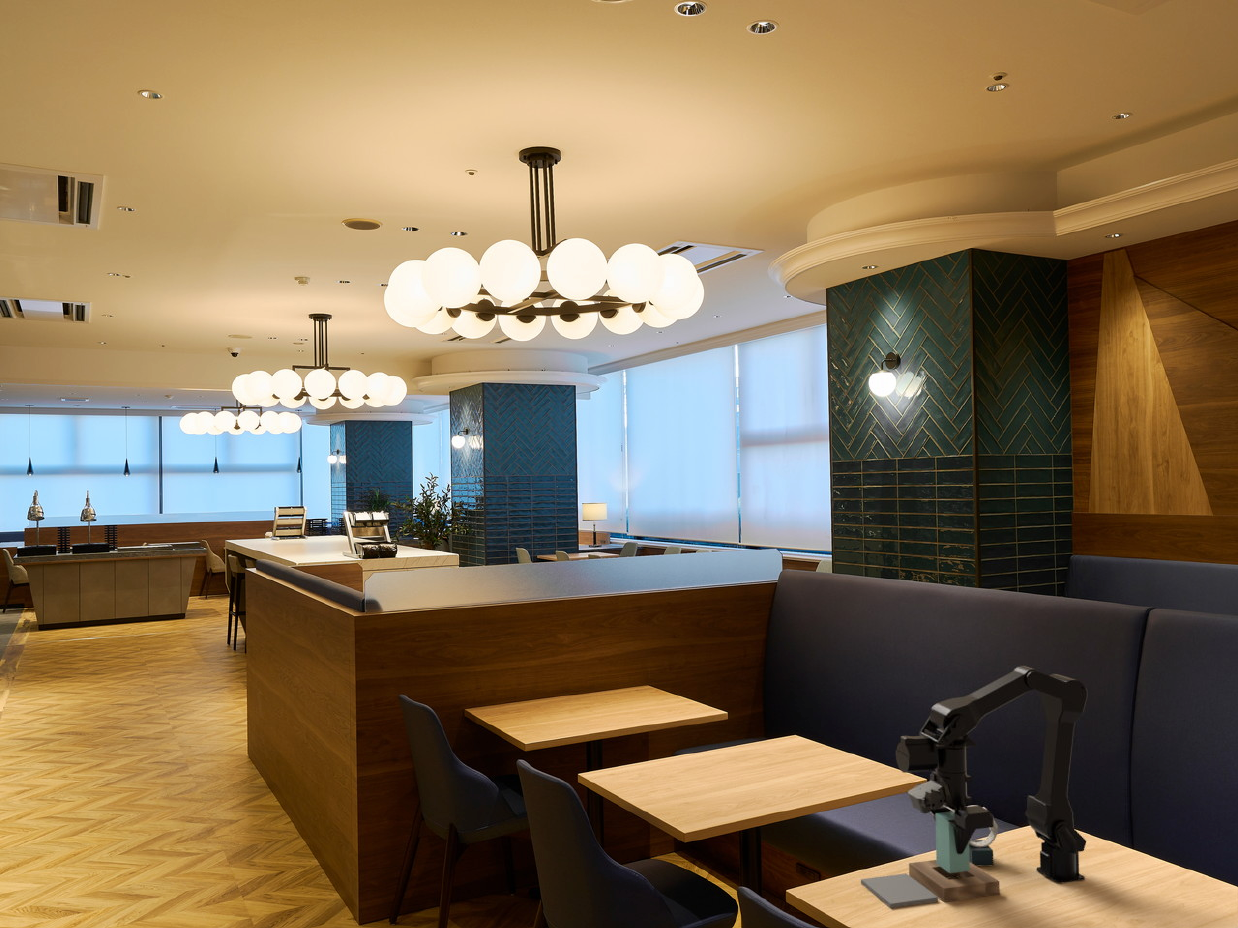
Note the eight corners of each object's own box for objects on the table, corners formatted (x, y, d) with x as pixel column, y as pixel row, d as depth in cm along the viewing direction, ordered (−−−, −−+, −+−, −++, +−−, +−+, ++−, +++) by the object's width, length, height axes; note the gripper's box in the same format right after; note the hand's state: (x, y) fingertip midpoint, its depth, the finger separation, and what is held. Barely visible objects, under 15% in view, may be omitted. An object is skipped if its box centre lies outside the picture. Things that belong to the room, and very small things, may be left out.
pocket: (961, 868, 187) (961, 856, 187) (999, 894, 176) (999, 880, 176) (909, 875, 184) (909, 863, 185) (944, 901, 173) (944, 888, 173)
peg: (956, 861, 183) (955, 810, 183) (969, 870, 179) (968, 818, 179) (936, 863, 182) (935, 813, 182) (949, 872, 178) (948, 820, 178)
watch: (1003, 865, 189) (1001, 811, 189) (963, 865, 189) (962, 811, 189) (992, 854, 194) (991, 802, 195) (954, 854, 195) (953, 802, 195)
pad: (906, 877, 184) (906, 873, 184) (938, 901, 173) (937, 896, 173) (860, 883, 181) (860, 879, 181) (890, 907, 171) (890, 903, 171)
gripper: (889, 758, 188) (890, 835, 187) (942, 787, 170) (944, 873, 169) (937, 754, 190) (938, 830, 190) (994, 782, 172) (996, 866, 172)
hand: (952, 848), depth 180 cm, fingers closed on peg, 4 cm apart
